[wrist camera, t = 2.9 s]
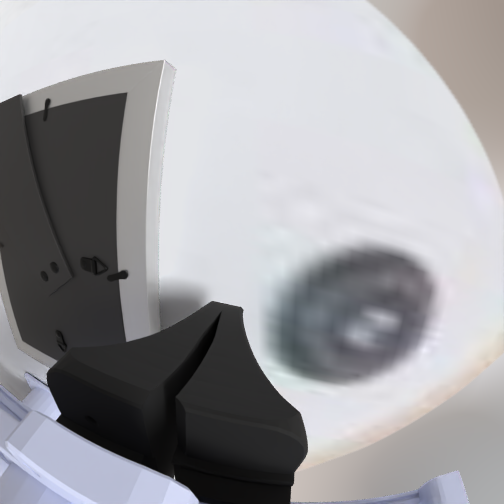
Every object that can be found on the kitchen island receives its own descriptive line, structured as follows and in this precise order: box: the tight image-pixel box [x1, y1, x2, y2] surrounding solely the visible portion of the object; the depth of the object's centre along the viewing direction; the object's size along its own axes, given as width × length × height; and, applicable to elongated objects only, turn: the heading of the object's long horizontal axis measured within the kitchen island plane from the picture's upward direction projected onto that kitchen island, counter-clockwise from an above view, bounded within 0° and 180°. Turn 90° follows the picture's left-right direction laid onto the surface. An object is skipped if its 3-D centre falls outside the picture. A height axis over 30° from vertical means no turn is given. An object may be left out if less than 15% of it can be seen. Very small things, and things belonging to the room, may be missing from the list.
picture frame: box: [0, 60, 176, 368], centre depth 13 cm, size 16×3×21 cm
